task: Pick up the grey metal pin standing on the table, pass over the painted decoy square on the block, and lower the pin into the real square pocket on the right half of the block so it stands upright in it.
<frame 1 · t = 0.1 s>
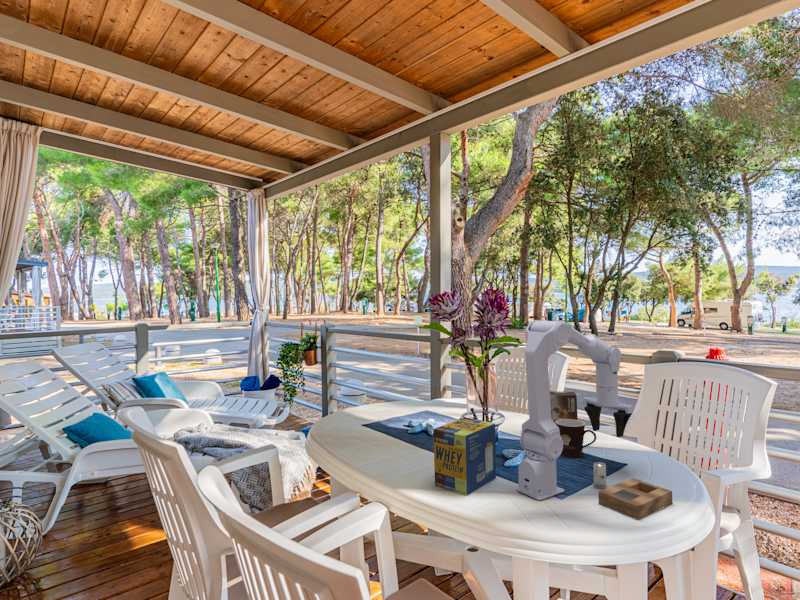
hand: (607, 433, 138), 10 cm above the table, fingers open, 7 cm apart
coffee box: (563, 439, 166), on the table
pin: (600, 486, 125), on the table
block: (635, 503, 115), on the table
coffee mug: (574, 456, 149), on the table
protein box: (466, 482, 131), on the table
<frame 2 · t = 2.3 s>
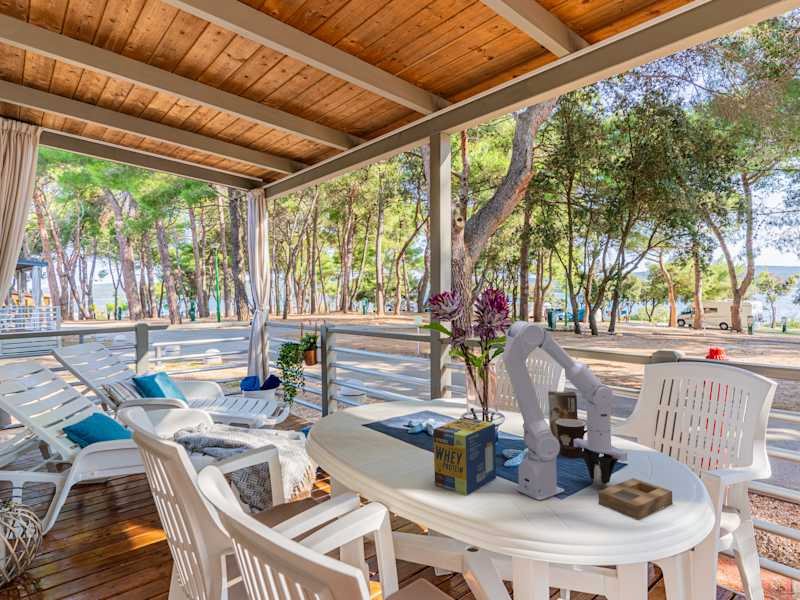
hand: (599, 480, 125), 2 cm above the table, fingers closed on pin, 3 cm apart
pin: (600, 486, 125), on the table, touching gripper
everything else where it was.
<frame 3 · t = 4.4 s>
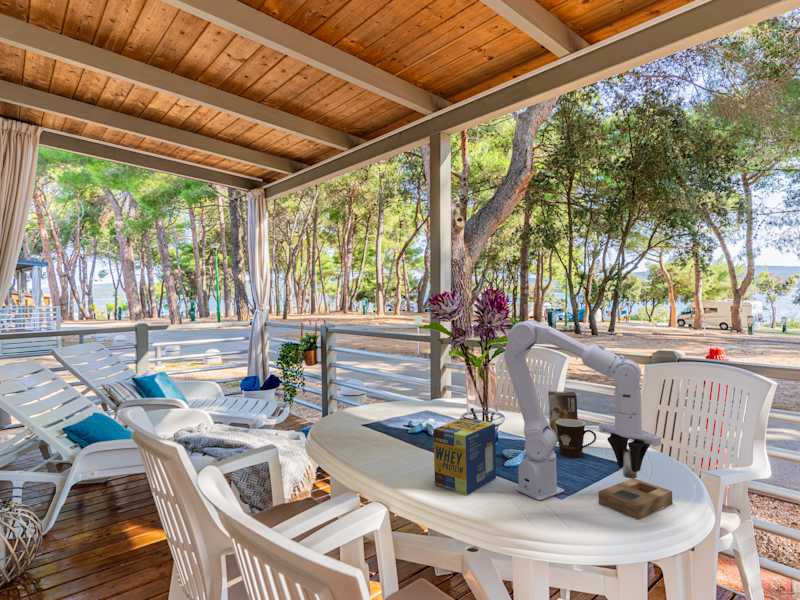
hand: (629, 468, 113), 9 cm above the table, fingers closed on pin, 3 cm apart
pin: (629, 475, 114), point 7 cm above the table, touching gripper
everything else where it was.
when the fingers open (4 cm above the table, at t = 6.7 s): pin drops 1 cm, resting on block.
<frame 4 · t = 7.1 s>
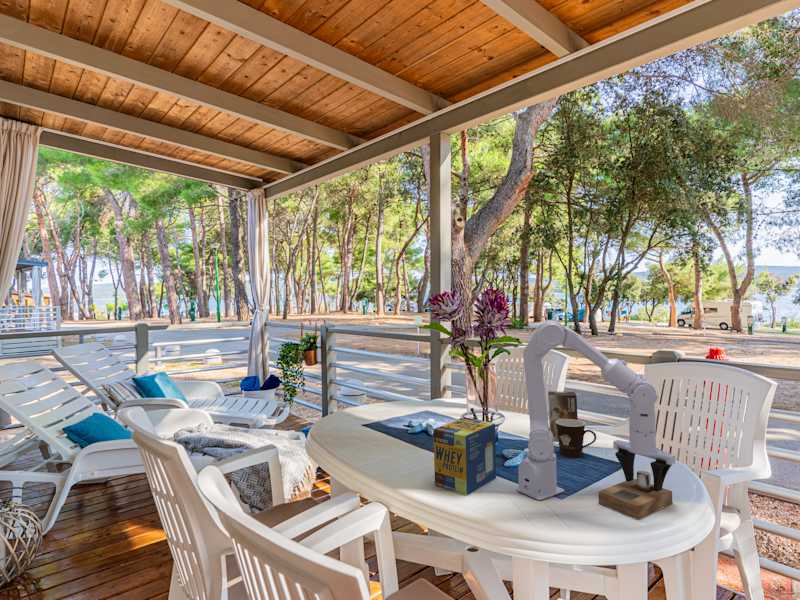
hand: (643, 485, 117), 4 cm above the table, fingers open, 7 cm apart
pin: (644, 497, 117), point 1 cm above the table, touching block
everything else where it was.
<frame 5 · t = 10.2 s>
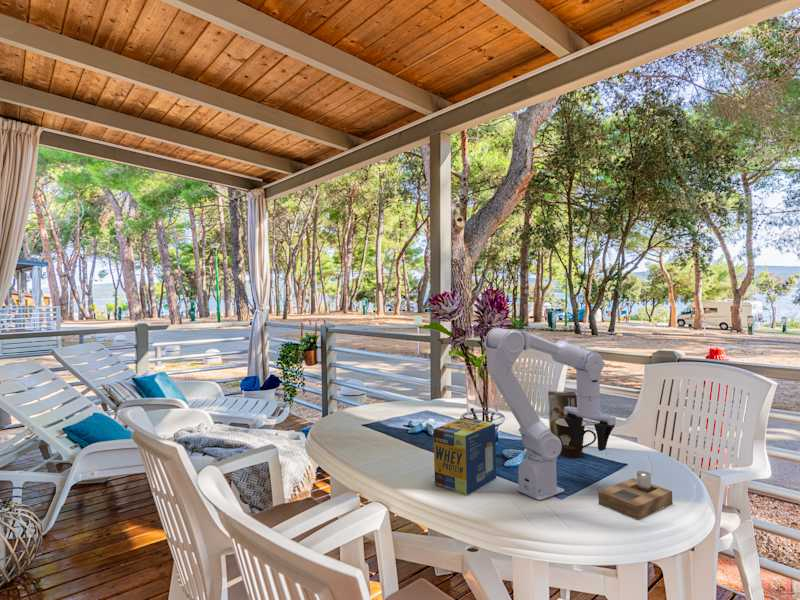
hand: (589, 446, 128), 10 cm above the table, fingers open, 7 cm apart
nothing on the table moved.
at the end: pin 0.2 cm from the target spot on the block, point 0.5 cm above the block's base; pin tilted 1°; the gripper is holding nothing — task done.
